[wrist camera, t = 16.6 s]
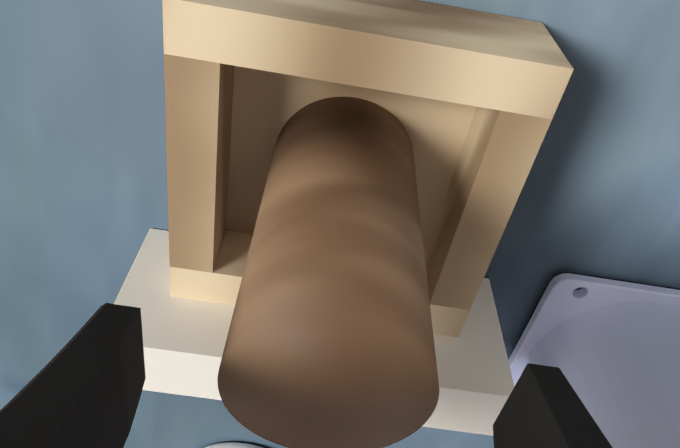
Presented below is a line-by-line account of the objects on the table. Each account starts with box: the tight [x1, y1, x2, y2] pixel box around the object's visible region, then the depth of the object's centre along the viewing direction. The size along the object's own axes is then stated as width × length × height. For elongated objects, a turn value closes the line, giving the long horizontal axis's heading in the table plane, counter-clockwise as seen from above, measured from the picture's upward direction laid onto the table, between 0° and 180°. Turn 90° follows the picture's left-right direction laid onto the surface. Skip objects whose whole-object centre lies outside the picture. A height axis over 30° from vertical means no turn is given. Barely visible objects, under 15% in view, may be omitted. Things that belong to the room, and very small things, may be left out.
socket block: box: [163, 0, 574, 337], centre depth 16 cm, size 9×9×3 cm
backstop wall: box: [114, 228, 514, 436], centre depth 19 cm, size 12×2×5 cm, turn 81°
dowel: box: [217, 97, 439, 448], centre depth 14 cm, size 4×4×8 cm
